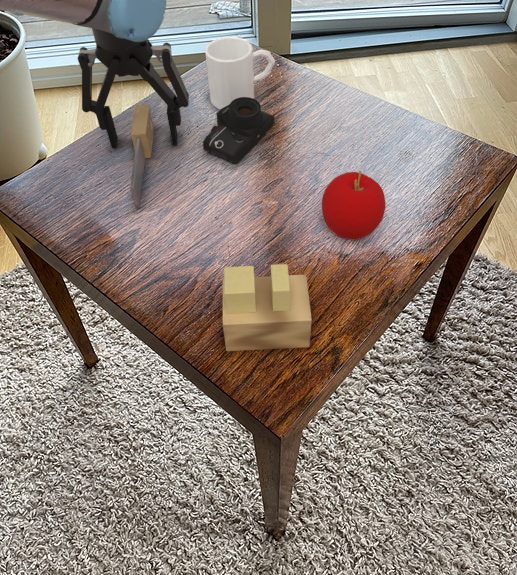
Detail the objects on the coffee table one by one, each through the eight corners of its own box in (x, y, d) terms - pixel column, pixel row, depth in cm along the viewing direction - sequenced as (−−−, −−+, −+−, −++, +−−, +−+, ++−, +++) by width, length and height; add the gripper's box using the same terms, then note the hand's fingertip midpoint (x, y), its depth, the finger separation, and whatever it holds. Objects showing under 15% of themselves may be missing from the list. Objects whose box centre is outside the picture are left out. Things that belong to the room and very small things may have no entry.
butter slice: (272, 311, 68) (272, 291, 65) (270, 285, 71) (270, 264, 68) (289, 310, 68) (290, 290, 65) (287, 284, 71) (287, 263, 68)
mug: (278, 107, 103) (278, 56, 96) (211, 113, 103) (206, 63, 95) (272, 82, 108) (272, 32, 101) (209, 88, 108) (203, 38, 100)
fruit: (393, 234, 83) (405, 182, 76) (342, 258, 81) (349, 207, 73) (356, 197, 89) (364, 144, 81) (307, 218, 86) (310, 166, 78)
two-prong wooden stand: (226, 351, 72) (222, 324, 67) (225, 306, 76) (222, 278, 72) (309, 347, 72) (311, 320, 67) (304, 302, 76) (306, 274, 72)
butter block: (226, 314, 68) (224, 293, 65) (226, 287, 71) (224, 266, 68) (256, 312, 68) (255, 292, 65) (254, 286, 71) (253, 265, 68)
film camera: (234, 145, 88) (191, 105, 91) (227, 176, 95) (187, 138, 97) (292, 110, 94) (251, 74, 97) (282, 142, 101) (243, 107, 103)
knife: (140, 129, 101) (135, 104, 97) (154, 128, 101) (149, 104, 97) (129, 209, 88) (123, 184, 84) (145, 208, 88) (139, 184, 84)
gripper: (195, -5, 83) (210, 124, 100) (41, 3, 83) (83, 131, 100) (194, 22, 78) (209, 152, 96) (30, 30, 78) (76, 159, 96)
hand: (145, 141), depth 98 cm, fingers open, 10 cm apart
